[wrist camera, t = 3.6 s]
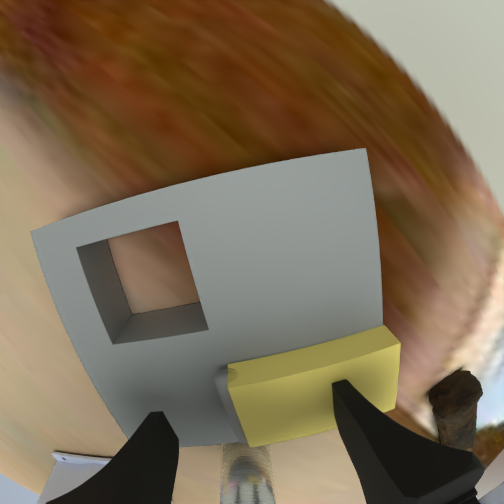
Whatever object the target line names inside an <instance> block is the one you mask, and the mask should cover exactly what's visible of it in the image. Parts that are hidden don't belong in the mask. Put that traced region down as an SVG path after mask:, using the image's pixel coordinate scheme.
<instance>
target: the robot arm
mask: <svg viewBox="0 0 504 504" xmlns="http://www.w3.org/2000/svg"><path fill="white" fill-rule="evenodd" d="M332 394H333V408H334V417H335V420H336V424H337V427H338V430H339V433H340V436H341V438H342V440H343V443H344V445H345V447H346V449H347V451H348V454H349V456H350V458H351V460H352V463H353V465H354V467H355V469H356V472H357V474H358V477H359V479H360V483H361V486H362V489H363V492H364V496H365V499H366V503H367V504H504V482H503V483H501V484H500V485H499V486H497V487H496V488H494V489H493V490H492V491H490V492H489V493H487V494H486V495H484V496H483V497H482V498H481V499H479V500H477V498H476V495H477V491H476V489H475V485H476V484H477V482H478V481H479V480H480V478H481V477H482V475H483V473H484V471H485V467H484V466H483V464H482V463H481V461H480V460H479V459H478V458H477V457H476V456H475V455H474V454H473V452H470V451H465V450H461V449H456V448H452V447H449V446H446V445H443V444H439V443H437V442H434V441H432V440H430V439H427V438H425V437H422V436H420V435H418V434H416V433H414V432H412V431H410V430H409V429H407V428H405V427H403V426H402V425H400V424H399V423H397V422H395V421H394V420H392V419H391V418H390V417H388V416H387V415H386V414H384V413H383V412H382V411H380V410H379V409H378V408H377V407H375V406H374V405H373V404H372V403H371V402H369V401H368V400H367V399H366V398H365V397H364V396H363V395H362V394H361V393H360V392H359V391H358V390H357V389H356V388H355V387H354V386H353V385H352V384H351V383H350V382H349V381H348V380H347V379H344V380H341V381H337V382H334V383H332ZM52 456H53V457H54V458H55V459H56V463H55V465H54V467H53V469H52V471H51V474H50V476H49V478H48V480H47V482H46V484H45V486H44V489H43V491H42V493H41V495H40V498H39V500H38V503H37V504H173V501H172V494H173V488H174V482H175V477H176V471H177V465H178V459H179V439H178V437H177V435H176V434H175V432H174V430H173V428H172V427H171V425H170V423H169V421H168V420H167V418H166V416H165V414H164V412H163V411H156V412H150V413H149V414H148V415H147V417H146V418H145V419H144V421H143V422H142V423H141V425H140V426H139V427H138V428H137V430H136V431H135V432H134V434H133V435H132V436H131V437H130V439H129V440H128V441H127V442H126V444H125V445H124V446H123V447H122V448H121V449H120V450H119V452H118V453H117V454H116V455H115V456H114V457H113V458H112V459H110V458H98V457H89V456H81V455H73V454H67V453H60V452H53V454H52Z"/></svg>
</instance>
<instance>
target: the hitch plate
mask: <svg viewBox="0 0 504 504" xmlns="http://www.w3.org/2000/svg"><path fill="white" fill-rule="evenodd" d="M177 220H178V222H179V226H180V230H181V234H182V238H183V242H184V245H185V249H186V253H187V256H188V260H189V264H190V267H191V271H192V274H193V278H194V281H195V285H196V288H197V292H198V295H199V299H200V302H199V303H194V304H189V305H184V306H178V307H173V308H167V309H162V310H156V311H151V312H145V313H139V314H134V315H132V313H131V311H130V308H129V306H128V303H127V300H126V297H125V295H124V292H123V289H122V286H121V283H120V280H119V277H118V274H117V271H116V268H115V265H114V262H113V259H112V256H111V252H110V249H109V246H108V242H107V239H108V238H111V237H115V236H119V235H122V234H126V233H130V232H134V231H138V230H141V229H145V228H149V227H153V226H157V225H161V224H165V223H169V222H173V221H177ZM30 233H31V236H32V240H33V243H34V247H35V250H36V253H37V256H38V260H39V263H40V266H41V269H42V272H43V274H44V277H45V280H46V283H47V286H48V288H49V291H50V294H51V296H52V299H53V301H54V304H55V306H56V309H57V311H58V314H59V316H60V318H61V321H62V323H63V325H64V327H65V330H66V332H67V334H68V336H69V338H70V340H71V343H72V345H73V347H74V349H75V351H76V353H77V355H78V357H79V359H80V361H81V363H82V364H83V366H84V368H85V370H86V372H87V374H88V376H89V378H90V379H91V381H92V383H93V385H94V386H95V388H96V390H97V392H98V393H99V395H100V397H101V398H102V400H103V402H104V403H105V405H106V407H107V408H108V410H109V411H110V413H111V414H112V416H113V418H114V419H115V421H116V422H117V424H118V425H119V427H120V428H121V430H122V431H123V433H124V434H125V435H126V437H127V438H128V440H129V439H130V437H131V436H132V435H133V434H134V432H135V431H136V430H137V428H138V427H139V426H140V425H141V423H142V422H143V421H144V419H145V418H146V417H147V415H148V414H149V413H150V412H156V411H163V412H164V414H165V416H166V418H167V420H168V421H169V423H170V425H171V427H172V428H173V430H174V432H175V434H176V435H177V437H178V439H179V447H193V446H206V445H216V444H226V443H234V442H239V441H238V440H237V438H236V435H235V433H234V430H233V428H232V426H231V423H230V421H229V418H228V416H227V413H226V411H225V408H224V406H223V403H222V401H221V398H220V395H219V393H218V390H217V388H216V385H215V382H214V379H213V377H214V375H215V374H216V373H217V372H218V371H220V370H222V369H227V368H228V364H231V363H237V362H242V361H247V360H252V359H257V358H262V357H266V356H271V355H276V354H280V353H284V352H289V351H293V350H297V349H301V348H305V347H309V346H313V345H317V344H321V343H325V342H328V341H332V340H336V339H339V338H343V337H346V336H350V335H353V334H357V333H360V332H363V331H367V330H370V329H373V328H376V327H380V326H383V309H382V282H381V265H380V252H379V240H378V230H377V221H376V212H375V204H374V197H373V189H372V183H371V176H370V170H369V164H368V158H367V153H366V148H363V149H355V150H348V151H341V152H334V153H327V154H321V155H315V156H308V157H303V158H297V159H291V160H286V161H280V162H275V163H270V164H265V165H260V166H255V167H250V168H245V169H240V170H236V171H231V172H227V173H222V174H218V175H214V176H209V177H205V178H201V179H197V180H193V181H189V182H185V183H181V184H177V185H173V186H169V187H166V188H162V189H158V190H155V191H151V192H147V193H144V194H140V195H137V196H134V197H130V198H127V199H123V200H120V201H117V202H114V203H110V204H107V205H104V206H101V207H98V208H95V209H92V210H89V211H86V212H83V213H80V214H77V215H74V216H71V217H68V218H65V219H62V220H59V221H57V222H54V223H51V224H48V225H46V226H43V227H40V228H38V229H35V230H32V231H30Z"/></svg>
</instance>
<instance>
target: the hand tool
mask: <svg viewBox="0 0 504 504" xmlns="http://www.w3.org/2000/svg"><path fill="white" fill-rule="evenodd" d="M482 394H483V392H482V388H481V384H480V382H479V381H478V380H477V378H476V377H475V376H473V375H472V374H471V372H470V371H462V370H456V371H455V372H454V373H452V374H451V375H450V376H448V377H446V378H445V379H443V380H442V381H441V382H439V383H438V384H437V385H436V386H435V387H434V388H433V389H432V390H431V391H430V394H429V402H430V403H431V404H432V405H433V413H434V415H435V416H436V417H437V420H438V425H437V426H438V431H439V435H440V439H441V444H443V445H446V446H449V447H452V448H456V449H461V450H465V451H470V452H473V450H474V444H475V434H476V419H477V403H478V400H479V399H480V397H481V396H482Z"/></svg>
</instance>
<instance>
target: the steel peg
mask: <svg viewBox="0 0 504 504" xmlns="http://www.w3.org/2000/svg"><path fill="white" fill-rule="evenodd" d="M220 504H276V500H275V492H274V483H273V475H272V467H271V459H270V450H269V444H268V445H262V446H256V447H250V446H249V444H248V443H241V442H234V443H226V444H222V456H221V493H220Z"/></svg>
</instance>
